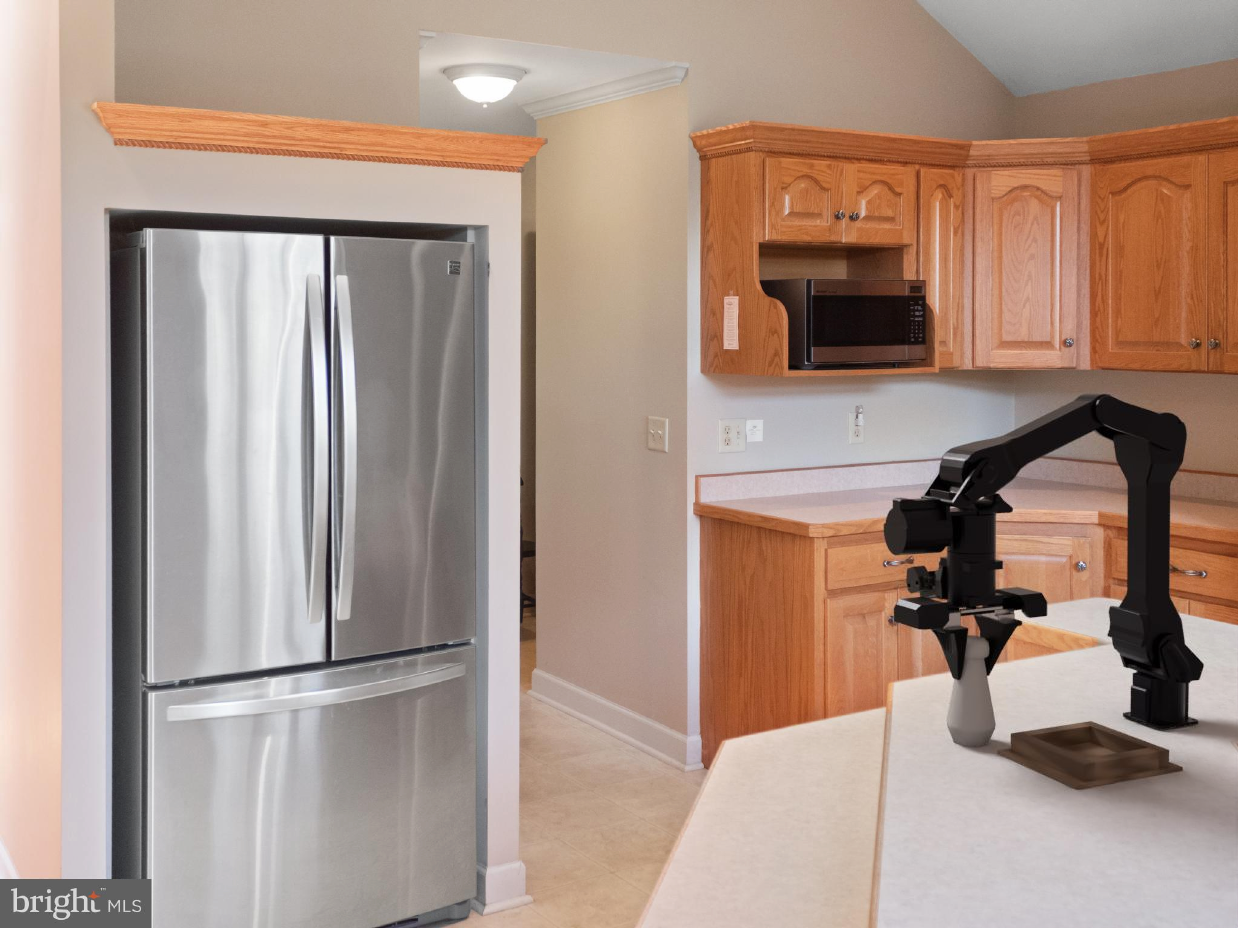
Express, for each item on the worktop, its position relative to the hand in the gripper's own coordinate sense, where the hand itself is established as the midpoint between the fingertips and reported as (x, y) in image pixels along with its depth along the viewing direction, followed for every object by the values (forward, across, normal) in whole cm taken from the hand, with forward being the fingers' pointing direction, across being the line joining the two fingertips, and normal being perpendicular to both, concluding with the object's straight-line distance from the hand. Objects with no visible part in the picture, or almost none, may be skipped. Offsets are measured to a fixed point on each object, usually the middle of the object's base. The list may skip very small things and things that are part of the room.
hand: (970, 677), depth 140 cm
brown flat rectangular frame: (+8, -8, +12) cm, 16 cm away
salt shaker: (+8, 0, 0) cm, 8 cm away
